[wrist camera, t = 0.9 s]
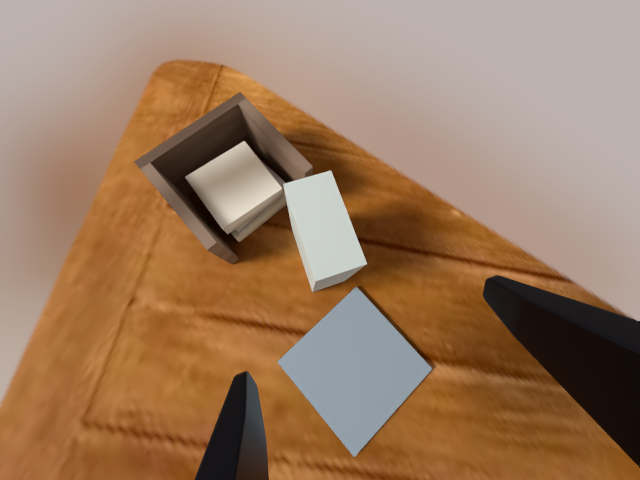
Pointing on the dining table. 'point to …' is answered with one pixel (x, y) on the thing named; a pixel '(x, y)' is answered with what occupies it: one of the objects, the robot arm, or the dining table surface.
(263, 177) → the offcut stack
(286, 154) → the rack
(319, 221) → the pale grey rectangular block
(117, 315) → the dining table surface
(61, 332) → the dining table surface
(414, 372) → the mat
